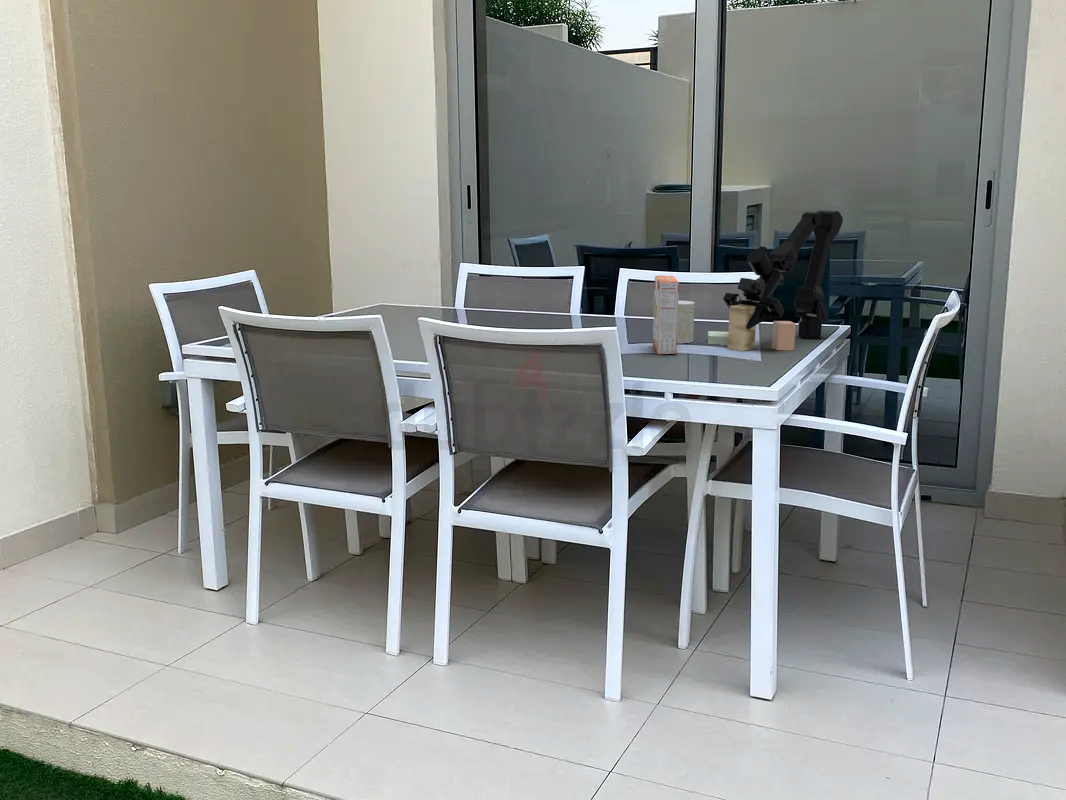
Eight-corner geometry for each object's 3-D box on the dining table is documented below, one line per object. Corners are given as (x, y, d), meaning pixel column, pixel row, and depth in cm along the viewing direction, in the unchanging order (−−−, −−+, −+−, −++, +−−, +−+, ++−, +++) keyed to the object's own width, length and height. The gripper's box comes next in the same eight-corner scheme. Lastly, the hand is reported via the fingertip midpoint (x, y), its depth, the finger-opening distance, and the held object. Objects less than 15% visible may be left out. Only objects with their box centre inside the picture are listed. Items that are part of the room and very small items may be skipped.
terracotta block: (787, 348, 304) (789, 321, 302) (793, 351, 299) (795, 323, 297) (771, 348, 303) (773, 321, 301) (777, 351, 298) (778, 323, 296)
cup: (676, 345, 306) (677, 304, 303) (660, 340, 313) (662, 301, 310) (698, 343, 310) (700, 303, 307) (682, 338, 317) (684, 299, 314)
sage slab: (737, 341, 315) (738, 332, 314) (738, 347, 306) (739, 337, 306) (707, 340, 316) (708, 331, 316) (707, 345, 308) (708, 335, 307)
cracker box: (651, 346, 303) (654, 275, 299) (671, 346, 303) (675, 275, 299) (655, 355, 290) (658, 280, 285) (676, 355, 290) (680, 280, 285)
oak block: (739, 346, 305) (741, 304, 302) (754, 349, 301) (757, 306, 298) (727, 348, 301) (729, 305, 298) (742, 351, 297) (745, 308, 294)
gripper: (728, 265, 305) (702, 305, 300) (780, 270, 291) (754, 312, 287) (743, 289, 312) (718, 329, 307) (795, 296, 298) (769, 338, 293)
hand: (739, 326), depth 298 cm, fingers closed on oak block, 5 cm apart
